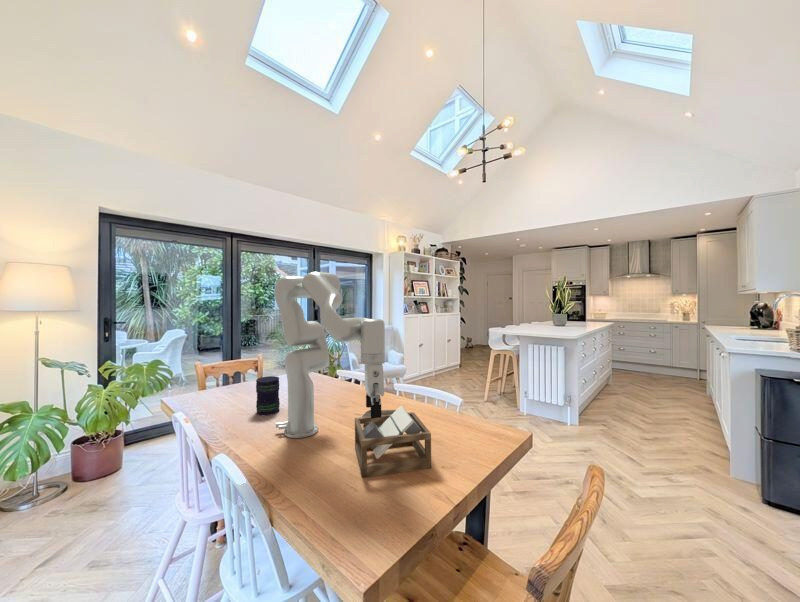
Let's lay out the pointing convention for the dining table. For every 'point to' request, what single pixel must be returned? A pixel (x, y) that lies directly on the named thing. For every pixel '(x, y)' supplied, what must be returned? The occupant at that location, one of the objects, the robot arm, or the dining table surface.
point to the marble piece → (383, 412)
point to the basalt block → (372, 432)
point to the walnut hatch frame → (398, 465)
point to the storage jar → (267, 395)
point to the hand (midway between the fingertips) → (373, 412)
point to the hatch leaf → (396, 428)
